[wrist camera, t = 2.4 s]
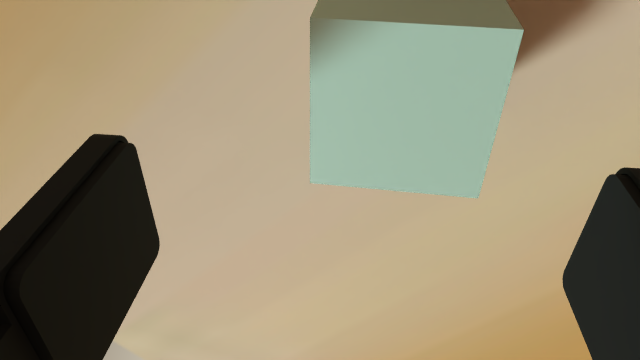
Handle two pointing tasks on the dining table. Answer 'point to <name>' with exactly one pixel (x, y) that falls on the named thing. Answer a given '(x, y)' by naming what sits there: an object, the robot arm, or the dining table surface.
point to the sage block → (408, 92)
